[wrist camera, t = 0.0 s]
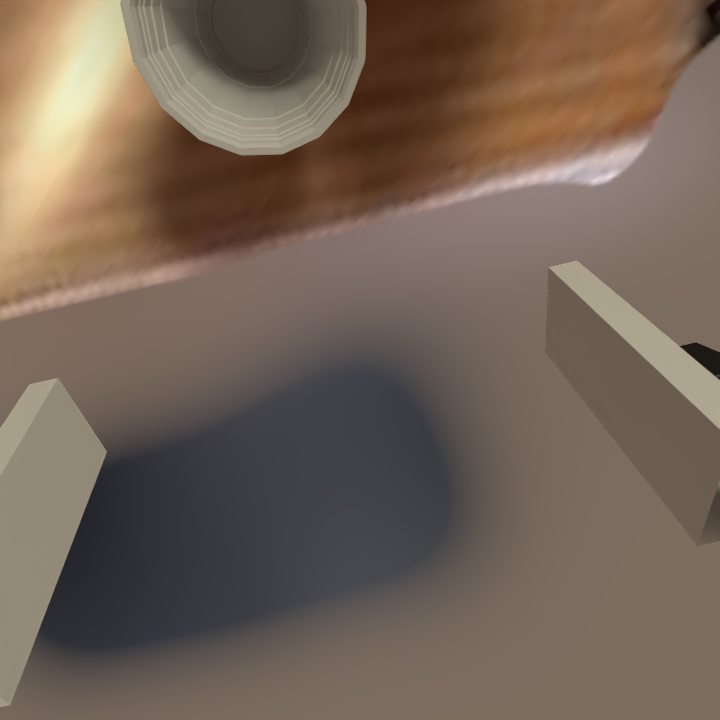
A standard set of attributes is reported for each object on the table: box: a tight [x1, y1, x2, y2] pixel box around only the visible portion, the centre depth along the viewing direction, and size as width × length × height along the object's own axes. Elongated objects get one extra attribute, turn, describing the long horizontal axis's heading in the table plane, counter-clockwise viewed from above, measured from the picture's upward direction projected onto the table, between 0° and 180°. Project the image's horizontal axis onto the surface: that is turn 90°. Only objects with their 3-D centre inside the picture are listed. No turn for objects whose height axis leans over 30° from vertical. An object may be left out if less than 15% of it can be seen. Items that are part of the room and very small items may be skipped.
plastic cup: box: [121, 0, 367, 155], centre depth 28 cm, size 11×11×12 cm
